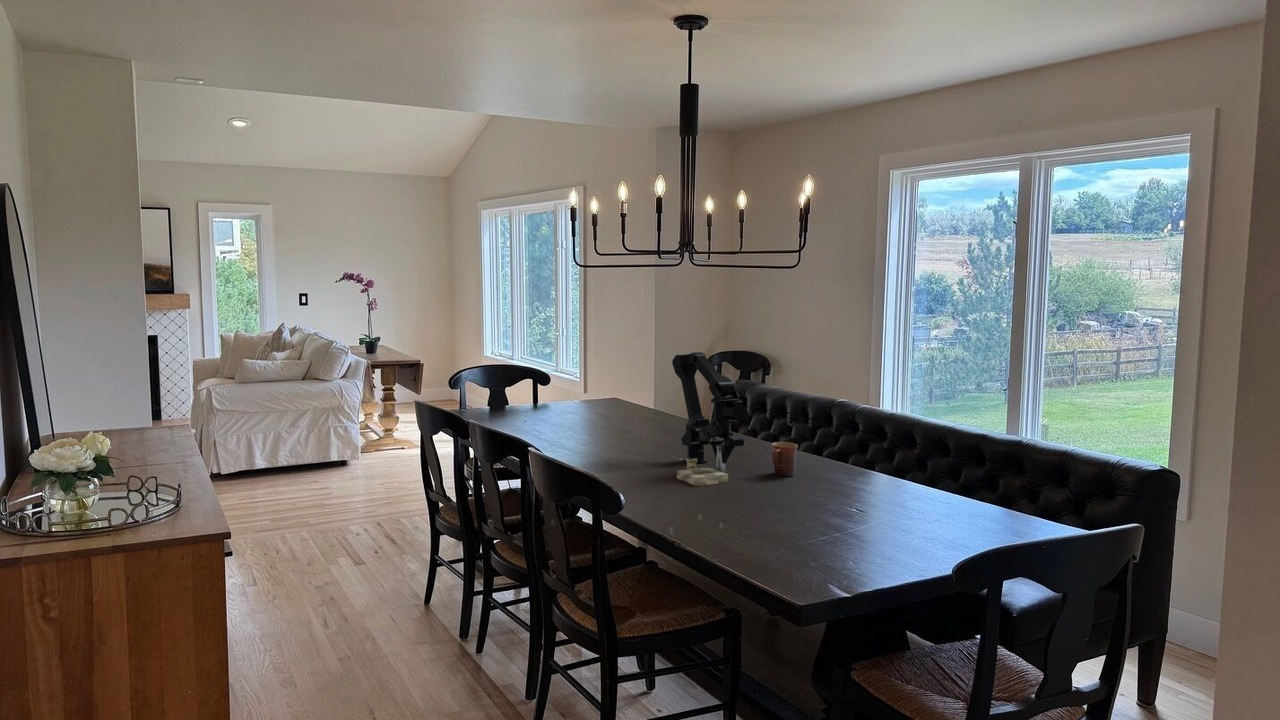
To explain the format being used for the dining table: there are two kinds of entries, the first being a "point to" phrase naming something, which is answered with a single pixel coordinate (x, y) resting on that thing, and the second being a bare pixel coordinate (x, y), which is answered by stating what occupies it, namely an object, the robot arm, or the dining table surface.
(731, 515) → the dining table surface
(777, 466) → the mug
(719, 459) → the long pin
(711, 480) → the socket board
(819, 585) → the dining table surface
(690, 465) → the short pin
